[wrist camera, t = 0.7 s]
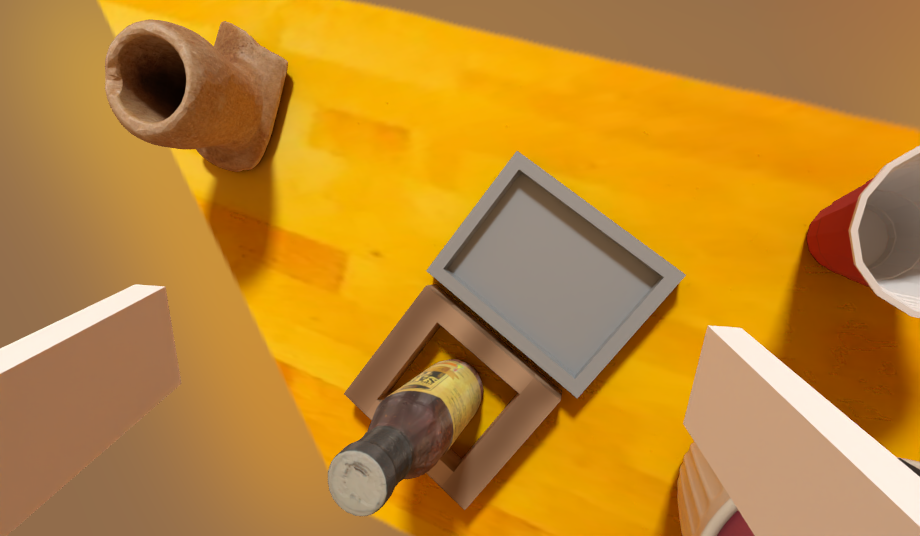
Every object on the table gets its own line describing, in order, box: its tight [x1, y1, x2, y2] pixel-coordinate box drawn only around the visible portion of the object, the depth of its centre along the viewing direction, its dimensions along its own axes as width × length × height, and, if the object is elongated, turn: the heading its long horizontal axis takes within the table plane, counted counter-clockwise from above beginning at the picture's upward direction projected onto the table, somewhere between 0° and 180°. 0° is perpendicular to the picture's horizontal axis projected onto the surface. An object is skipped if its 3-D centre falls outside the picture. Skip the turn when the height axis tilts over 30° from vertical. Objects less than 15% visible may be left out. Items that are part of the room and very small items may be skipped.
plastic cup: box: [807, 146, 920, 318], centre depth 31 cm, size 11×11×12 cm
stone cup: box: [105, 20, 288, 172], centre depth 44 cm, size 15×12×15 cm
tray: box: [427, 151, 686, 398], centre depth 42 cm, size 18×14×2 cm
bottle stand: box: [344, 284, 562, 510], centre depth 44 cm, size 16×14×3 cm
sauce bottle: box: [328, 359, 483, 516], centre depth 36 cm, size 6×6×20 cm
